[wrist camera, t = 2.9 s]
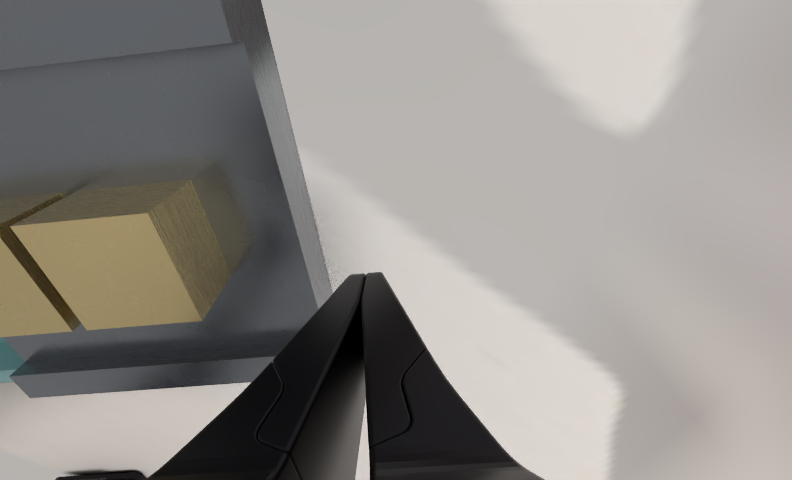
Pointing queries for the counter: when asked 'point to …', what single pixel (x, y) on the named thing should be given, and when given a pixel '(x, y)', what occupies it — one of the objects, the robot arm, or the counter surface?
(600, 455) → the counter surface
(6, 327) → the chip
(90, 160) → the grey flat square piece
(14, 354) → the tray
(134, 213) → the tan square block
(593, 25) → the counter surface
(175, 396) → the counter surface
